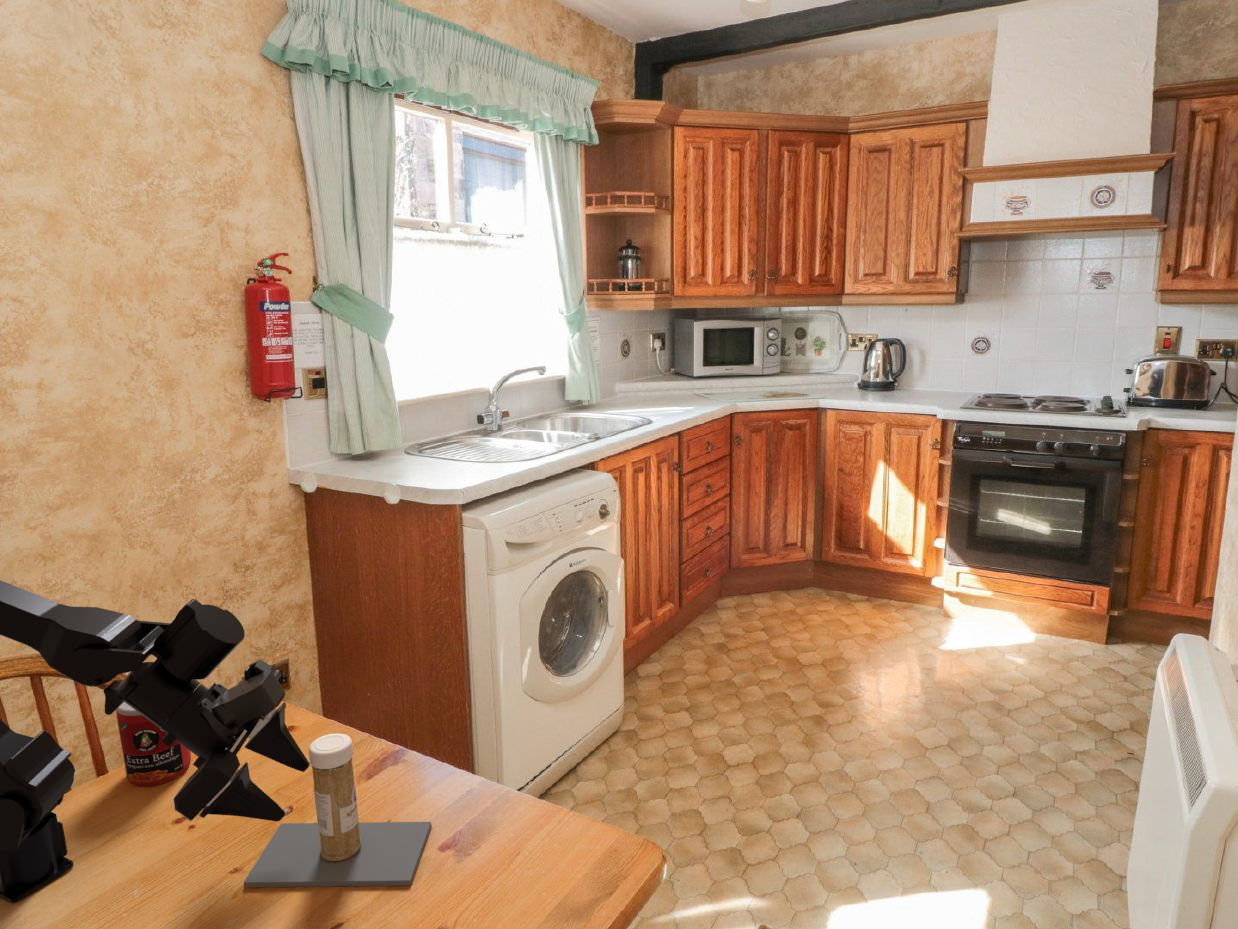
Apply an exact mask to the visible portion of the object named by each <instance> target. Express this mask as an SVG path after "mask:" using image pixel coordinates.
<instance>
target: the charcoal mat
mask: <svg viewBox="0 0 1238 929" xmlns="http://www.w3.org/2000/svg"><path fill="white" fill-rule="evenodd" d="M358 824H359V833H360V838H361V842H362V843H361V847H360V849H359V850H358V852H357V853H356V854H354V855H353V856H351V857H349V858H347V859H344V860H341V861H329V860H326V859H324V858H323V857H322V856H321V853H320V848H321V841H320V832H319V829H318V822H311V823H310V822H308V823H307V822H304V823H301V822H299V823H296V822H295V823H292V822H291V823H280V825H279V826H278V828H277V829H276V831H275V832H274V833H273V836H272V837H271V838H270V840H269V842H268V843H267V845H266V847H265V848H264V849H263V851H262V852H261V854H260V856H259V858H257V860H256V862H255V864H254V865H253V867H252V868H251V870H250V872H249V873H248V875H247V876H246V877H245V879H244V881H243V887H244V888H280V887H281V888H283V887H284V888H286V887H287V888H294V887H296V888H297V887H363V886H364V887H365V886H366V887H375V886H385V887H386V886H411V885H412V882H413V880H414V877H415V874H416V872H417V869H418V866H419V863H420V860H421V857H422V854H423V851H424V848H425V845H426V842H427V840H428V837H429V835H430V832H431V830H432V821H380V822H379V821H373V822H372V821H370V822H358Z"/></svg>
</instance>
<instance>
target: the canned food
mask: <svg viewBox="0 0 1238 929" xmlns="http://www.w3.org/2000/svg"><path fill="white" fill-rule="evenodd" d="M115 713H116V718H117V725H118V731H119V732H118V733H119V738H120V739H119V740H120V744H121V750H122V755H123V756H122V758H123V761H124V762H123V763H124V769H125V775H126V777H127V779H128V781H129V783H131V785H134V786H136V787H141V788H143V787H144V788H145V787H146V788H147V787H155V786H158V785H163V784H166V783H169V782H170V781H173V780H175V779H177V778H178V777H180V776H181V775H183V774H184V773H185V772H186V771H187V770H188V768H190V765H191V761H192V760H191V759H192V752H191V751H190V750H188V749H187V748H186V747H184V746H183V745H182V744H180V743H179V742H178V741H176V740H175V741H174V742H173V743H172V744H171V745H170V746H169V747H168V746H167V745H166V744H164V743H163V742H162V741H161V740H162V739H163V738H164V737H165V736H166V735H167V733H166V732H164V731H163V730H161V729H160V727H161V726H162V725H163V724H164V723H163V724H162V725H161V726H160V727H157V726H156V725H155V724H153V723H152V722H151V721H149V720H148V719H147V718H145V717H144V716H143V715H141V714H140V713H139V712H137V711H136V710H135V709H133V708H132V707H131V706H129V705H128V704H126V703H125V702H123V703H122V704H121V705H120V706H119V707H118V708H117V709H116V710H115Z"/></svg>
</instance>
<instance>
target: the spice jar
mask: <svg viewBox="0 0 1238 929" xmlns="http://www.w3.org/2000/svg"><path fill="white" fill-rule="evenodd" d="M353 756H354V747H353V741H352V738H351V737H350V736H349V735H347V734H345V733H329V734H326V735H323V736H319V737H318V738H316V739H315V740H313V741H312V742H311V743H310V745H309V747H308V757H309V763H310V766H311V769H312V770H311V771H312V778H313V785H314V786H313V794H314V803H315V810H316V820H317V821H316V822H317V823H318V829H319V832H320V841H321V848H320V853H321V856H322V857H323V858H324V859H326V860H329V861H341V860H344V859H347V858H349V857H351V856H353V855H354V854H356V853H357V852H358V850H359V849H360V847H361V843H362V842H361V838H360V833H359V824H358V823H359V811H358V810H359V809H358V801H357V791H356V782H355V777H354V776H355V775H354V766H353Z"/></svg>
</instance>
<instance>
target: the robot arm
mask: <svg viewBox="0 0 1238 929" xmlns="http://www.w3.org/2000/svg"><path fill="white" fill-rule="evenodd" d="M0 636H1V637H5V638H7V639H9V640H12V641H15V642H17V643H20V644H23V645H26V646H28V647H29V648H30V649H32V650H35V651H36V652H38V653H39V654H40V656H41V657H42V658H43V660H44V661H45V662H46V664H47V665H48V666H49V668H50V669H52V670H54V671H56V672H57V673H60V674H61V675H63V676H65V677H66V678H68V679H70V680H71V681H73V682H75V683H77V684H79V685H81V686H86V687H91V688H92V687H95V688H96V687H98V686H101V685H104V684H106V683H109V682H110V683H109V684H108V685H107V686H106V687H104V689H103V695H104V698H105V700H104V713H105V715H107V716H110V715H112V714H113V713H114V712H116V709H117V708H118V707H119V706H120V705H121V704H122V703H123V702H125V703H126V704H128V705H129V706H131V707H132V708H133V709H135V710H136V711H137V712H139V713H140V714H141V715H143V716H144V717H145V718H147V719H148V720H149V721H151V722H152V723H153V724H155V725H156V726H157V727H160V726H161V725H162V724H163V723H164V724H163V725H162V726H161V727H160V729H161V730H163V731H164V732H166V733H167V735H166V736H165V737H164V738H163V739H162V740H161V741H162V742H163V743H164V744H166V745H167V746H168V747H169V746H170V745H171V744H172V743H173V742H174V741H175V740H176V741H178V742H179V743H180V744H182V745H183V746H184V747H186V748H187V749H188V750H190V751H191V754H192V753H193V754H194V755H195V756H197V757H196V760H195V761H194V762H193V763H192V766H194V767H195V768H197V769H196V770H195V771H194V772H193V773H192V774H191V775H190V777H188V778H187V780H186V781H185V782H184V784H183V785H182V787H181V788H180V790H179V791H178V792H177V793H176V795H175V796H174V798H173V804H174V811H175V812H177V813H179V814H180V815H181V816H182V817H184V818H185V819H186V820H188V821H190V822H192V821H193V820H194V819H195V818H196V817H197V815H199V817H200V818H203V819H205V818H206V816H208V815H214V816H215V815H217V816H233V817H241V818H243V817H244V818H248V819H249V818H250V819H257V820H263V821H264V820H265V821H271V822H280V821H281V820H282V819H283V818H284V817H285V816H286V812H285V810H284V809H283V808H282V807H281V806H280V805H279V804H278V803H277V802H276V801H275V800H274V799H273V798H271V797H270V796H269V795H268V794H267V793H266V792H265V791H263V790H262V789H261V788H260V787H259V786H258V785H257V784H255V783H254V782H253V781H252V779H251V776H250V770H249V763H248V761H247V762H245V763H244V764H243V765H242V766H241V763H240V760H239V757H238V755H237V754H238V753H239V751H240V750H241V749H242V747H243V745H244V744H245V742H246V741H247V740H248V741H247V742H246V744H245V746H244V748H245V749H246V750H248V751H251V752H253V753H256V754H258V755H261V756H263V757H265V758H268V759H270V760H272V761H275V762H277V763H278V764H282V765H283V766H286V767H288V768H290V769H293V770H296V771H299V772H302V773H304V772H306V771H307V770H308V768H309V767H310V766H311V764H310V761H308V760H309V759H307V757H306V755H305V754H304V752H303V751H302V749H301V748H300V746H299V745H298V743H297V741H296V740H295V739H294V737H293V735H292V734H291V732H290V731H289V729H288V727H287V725H286V721H285V720H286V717H285V716H286V713H285V712H286V708H287V703H286V701H284V702H282V701H283V700H284V698H285V697H286V696H287V695H286V691H285V689H284V687H283V686H282V685H281V683H280V681H279V679H280V678H281V676H282V672H281V671H280V670H279V669H275V668H274V666H272V665H270V664H269V663H267V662H266V661H264V660H262V659H258V660H256V661H254V662H252V663H250V664H249V665H248V666H247V667H246V669H245V670H244V672H243V673H244V674H243V677H244V679H241V680H239V682H238V683H237V684H236V685H235V686H233V687H231V688H229V689H228V688H226V687H225V686H223V685H222V684H221V683H216V682H213V683H212V685H211V686H210V687H209V688H208V687H206V686H205V685H204V684H202V683H201V682H200V681H199V680H204V679H206V678H208V677H209V676H210V675H211V674H212V673H213V672H214V671H215V670H216V668H218V666H219V665H221V663H222V662H224V660H225V659H227V657H228V656H229V655H230V654H231V653H233V651H234V650H235V649H236V648H237V647H238V646H239V645H240V644H241V643H242V641H244V639H245V637H246V636H245V629H244V627H243V624H242V623H241V622H240V620H239V619H238V617H236V615H234V614H233V613H232V612H231V611H229V609H223V608H222V607H218V606H216V605H214V604H213V605H212V604H202V603H201V602H200V601H199V600H197V599H196V598H191V599H190V600H189V601H188V602H187V603H186V604H185V605H184V606H183V607H182V608H181V609H180V610H179V611H178V612H177V614H176V616H175V618H174V619H173V620H172V621H171V623H169V622H160V621H159V622H158V621H146V620H138V619H137V618H135V617H133V616H132V615H130V614H127V613H123V612H120V611H119V612H118V611H115V610H111V609H106V608H103V607H98V606H70V605H66V604H63V603H62V604H61V603H59V602H56V601H53V600H50V599H48V598H46V597H44V596H41V595H38V594H36V593H33V592H31V591H28V590H27V589H23V588H21V587H18V586H16V585H13V584H11V583H9V582H6V581H4V580H1V579H0ZM150 656H153V657H155V658H156V659H155V660H154V661H146V660H147V659H149V658H150ZM126 673H128V674H127V675H126V676H125V677H124V679H115V678H116V677H118V675H121V674H126ZM281 703H282V704H281ZM71 755H72V753H71V752H69V751H68V750H65V749H64V748H63V747H61V746H60V745H59V744H58V742H56V740H55V738H54V737H53V736H52V735H51V734H50V733H49V732H47V731H46V730H41V731H40V732H38V733H37V734H36V736H29V735H25V734H21V733H18V732H15V731H13V730H12V728H10V727H9V726H8V725H7V724H6V723H5V722H4V721H3V719H1V718H0V898H2V899H4V900H5V901H8V902H10V903H15V902H16V903H17V902H18V901H20V900H21V899H23V898H25V897H26V896H28V895H29V894H31V893H32V892H35V891H36V890H38V889H39V888H41V887H43V886H45V885H46V884H47V883H49V882H51V881H52V880H54V879H55V878H57V877H58V876H60V875H63V874H64V873H65V872H66V871H68V870H70V869H72V868H73V867H74V861H73V860H72V859H69V858H67V857H66V856H67V855H68V852H69V851H68V847H67V841H66V835H65V829H64V824H63V822H61V821H58V816H57V814H56V813H54V812H53V811H54V810H55V809H56V807H58V806H60V805H61V803H62V802H63V801H64V796H65V794H66V793H67V792H68V791H69V790H70V789H71V788H72V786H73V783H74V781H75V780H74V779H75V772H76V768H75V765H74V764H73V763H72V761H71V760H70V759H69V758H70V757H71ZM240 766H241V767H240Z"/></svg>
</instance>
